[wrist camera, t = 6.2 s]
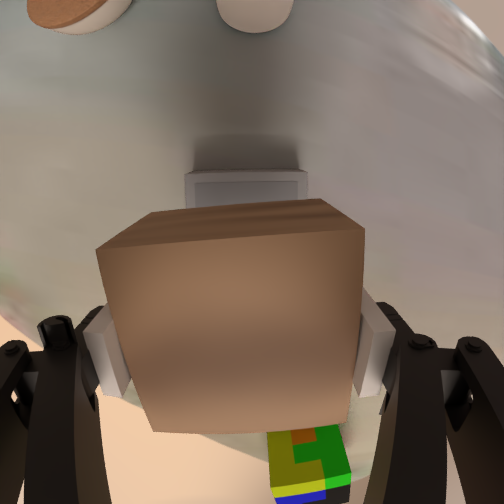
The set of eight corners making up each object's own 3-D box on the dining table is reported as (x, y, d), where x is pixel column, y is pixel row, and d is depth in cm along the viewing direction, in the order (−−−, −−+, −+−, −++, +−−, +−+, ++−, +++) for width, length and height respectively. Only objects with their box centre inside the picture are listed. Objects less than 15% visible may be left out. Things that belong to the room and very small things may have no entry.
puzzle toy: (276, 465, 43) (280, 514, 33) (266, 431, 40) (270, 487, 30) (337, 454, 42) (348, 501, 33) (336, 418, 39) (351, 472, 30)
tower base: (192, 171, 29) (184, 174, 25) (299, 169, 29) (307, 172, 25) (198, 271, 32) (192, 287, 28) (297, 269, 32) (304, 285, 28)
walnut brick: (151, 212, 14) (95, 249, 9) (320, 198, 14) (364, 228, 9) (178, 353, 17) (153, 431, 11) (320, 344, 17) (346, 422, 11)
